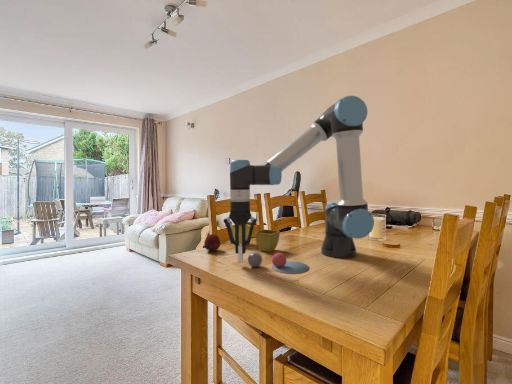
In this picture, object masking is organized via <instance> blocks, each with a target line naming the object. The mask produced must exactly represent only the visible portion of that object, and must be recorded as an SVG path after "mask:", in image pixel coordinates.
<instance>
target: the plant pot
mask: <svg viewBox="0 0 512 384" xmlns="http://www.w3.org/2000/svg"><path fill="white" fill-rule="evenodd" d="M230 225H231V224H230ZM250 226H251V224H250V225H249V224H246V240H247V239H248V235H249V230H250ZM231 229H232V233H233V237H234V240H235V224H232V225H231ZM239 244H242V225H239ZM247 245H248V244H246V246H247Z"/></svg>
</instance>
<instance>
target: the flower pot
mask: <svg viewBox="0 0 512 384" xmlns="http://www.w3.org/2000/svg"><path fill="white" fill-rule="evenodd" d="M254 233H255V240H256V241H255V242H256V246H257V247H258V249H259V250H260V251H262V252H268V253H270V252H272V251H275V250H276V249H277V246H278V243H279V239H280V231H279V230H272V229H262V230H261V229H260V230H258V231H255V232H254Z"/></svg>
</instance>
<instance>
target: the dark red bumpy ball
mask: <svg viewBox="0 0 512 384" xmlns="http://www.w3.org/2000/svg"><path fill="white" fill-rule="evenodd" d="M203 246H204V249H206V250H207V251H209V252H215V251H217V250H219V249H220V247H221V240H220V237H219V235H217V234H216V233H212V234H208V235H207V236H206V237H205V240H204V245H203Z"/></svg>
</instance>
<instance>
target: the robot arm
mask: <svg viewBox="0 0 512 384" xmlns="http://www.w3.org/2000/svg"><path fill="white" fill-rule="evenodd" d="M367 117H368V106H367V104H366V102H365V101H364V100H363V99H362V98H360V97H358V96H357V95H346V96H343V97H341V98H339V99H338V100H337V101H336V102H335V103H334V104H332V105H330V106H329V107H328V108H327V109H326V110H325V111H324V112H323V113H322V114H321V115H320V116H319V117H318V118H317V119H315V120H314V121H313V122H312V123H311V125H310V126H311V127H309V128H308V129H306V131H304V132H302V133H301V134H300V135H299V136H298V137H296V138H295V139H294V140H292V141H291V142H289V143H288V144H286V146H284V147H283V148H282V149H281V150H279V151H278V152H276V154H274V155H273V156H272V157H270V158H269V159H267V160H266V161H265V162H264V163H263V164H259V165H252V164H251V162H250V160H248V159H232V160H231V161H230V162H229V188H230V193H229V195H230V196H229V197H230V200H231V201H230V202H229V204H230V206H229V208H230V211H229V215H228V217H226V218H224V219H223V223H224V225H225V226H226V230H227V234H228V237H229V242H230V244H231V245H234V246H235V249H234V250H235V254H237V255H238V256H237V257H238V258H237V260H238V263H239V264H242V263H243V261H244V255H245V254H246V253H247V252H246V251H247V250H246V247H247V245H249V244H250V243H251V240H252V235H253V232H254V227H255V224H256V223H257V221H258V219H257V218H255V217H253V216H252V214H251V202H250V201H249V200H251V186H255V185H256V186H276V185H278V186H279V185H280V184H281V183H282V176H283V175H282V172H284V170H286V169H287V168H289V166H291V165H292V164H294V163H295V162H296V161H297V160H298V159H300V158H302V156H304V155H305V154H307V153H308V152H309V151H310V150H311V149H313V148H315V146H317V145H318V144H319V143H321V142H322V141H323V142H326V141H327V140H328V139H330V138H332V137H333V138H334V139H335V143H336V159H337V174H338V175H337V176H338V189H339V190H338V191H339V200H338V201H337V202H327V203H326V205H325V210H324V213H325V217H324V218H325V219H324V220H325V221H324V223H325V225H324V226H325V228H324V232H325V233H324V239H323V242H322V244H321V248H320V249H321V251H320V252H321V254H322V255H324V256H327V257H332V258H341V259H347V258H348V259H350V258H353V257H354V258H355V257H356V256H357V247H356V244H355V242H354V239H357V240H358V239H362V238H363V239H364V238H365V237H367V236H369V234H370V233H371V232H372V230H373V229H374V226H375V219H374V216H373V214H372V213H371V211H369V207H368V201H366V200H365V198H364V196H363V195H364V193H363V180H362V175H363V174H362V161H361V146H360V136H361V135H362V134H363V132H364V124H363V123H364V122H365V121H366V119H367ZM231 222H232V224H233V225H235V240H234V237H233V233H232V229H231ZM248 222H250V223H251V224H250V230H249V235H248V239H247V240H246V225H248V224H247V223H248ZM239 225H242V244H239ZM246 244H247V245H246Z"/></svg>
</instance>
